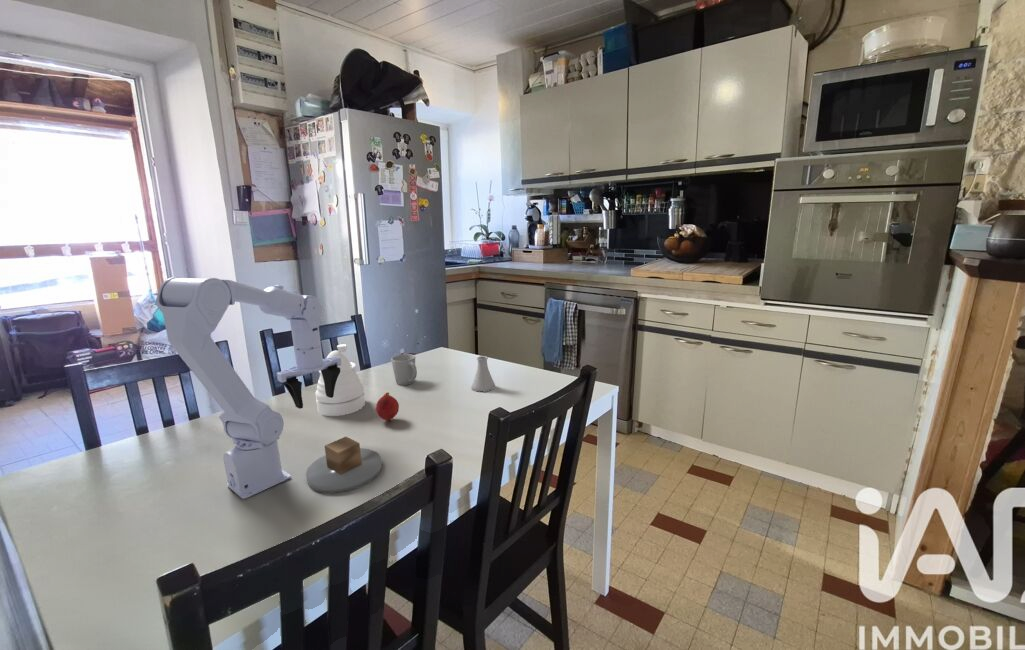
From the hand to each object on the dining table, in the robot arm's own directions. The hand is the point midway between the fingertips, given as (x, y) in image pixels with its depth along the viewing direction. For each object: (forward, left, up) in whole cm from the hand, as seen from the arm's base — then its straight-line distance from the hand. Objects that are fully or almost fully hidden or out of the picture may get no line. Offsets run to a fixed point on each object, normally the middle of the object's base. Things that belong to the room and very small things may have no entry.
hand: (315, 401), depth 109 cm
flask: (+49, -9, -11) cm, 51 cm away
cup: (+38, +14, -11) cm, 42 cm away
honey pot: (+15, +15, -11) cm, 24 cm away
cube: (-4, -17, -9) cm, 20 cm away
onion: (+17, -4, -11) cm, 20 cm away
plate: (-4, -17, -10) cm, 20 cm away
